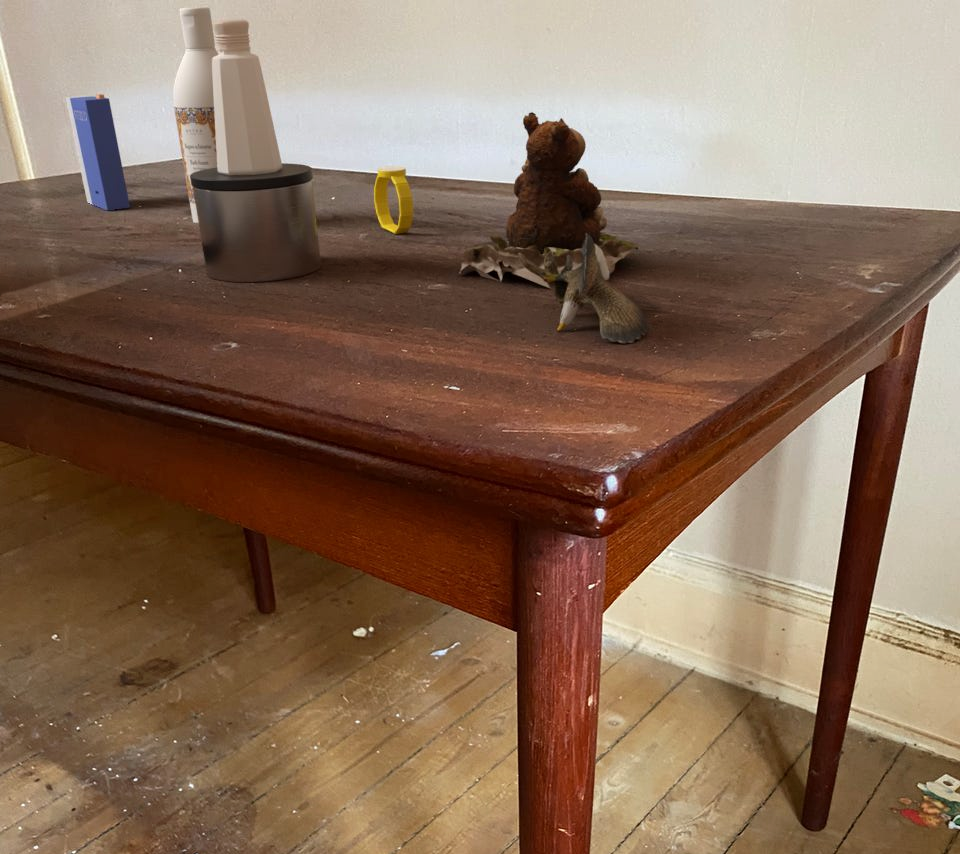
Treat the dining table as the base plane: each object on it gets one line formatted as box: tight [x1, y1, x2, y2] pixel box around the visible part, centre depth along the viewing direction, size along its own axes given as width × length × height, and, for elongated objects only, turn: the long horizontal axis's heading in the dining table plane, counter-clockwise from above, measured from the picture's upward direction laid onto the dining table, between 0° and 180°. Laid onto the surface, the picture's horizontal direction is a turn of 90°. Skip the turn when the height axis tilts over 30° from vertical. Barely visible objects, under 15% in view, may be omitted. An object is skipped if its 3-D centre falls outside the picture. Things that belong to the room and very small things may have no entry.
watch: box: [373, 165, 414, 235], centre depth 104 cm, size 6×3×6 cm, turn 31°
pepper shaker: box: [212, 18, 283, 176], centre depth 85 cm, size 5×5×11 cm
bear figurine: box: [458, 112, 639, 289], centre depth 86 cm, size 14×15×12 cm
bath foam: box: [172, 6, 218, 224], centre depth 107 cm, size 7×7×20 cm
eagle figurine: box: [518, 233, 649, 345], centre depth 71 cm, size 8×7×9 cm
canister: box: [190, 162, 322, 283], centre depth 90 cm, size 10×10×8 cm
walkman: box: [65, 93, 131, 211], centre depth 123 cm, size 8×3×12 cm, turn 35°
